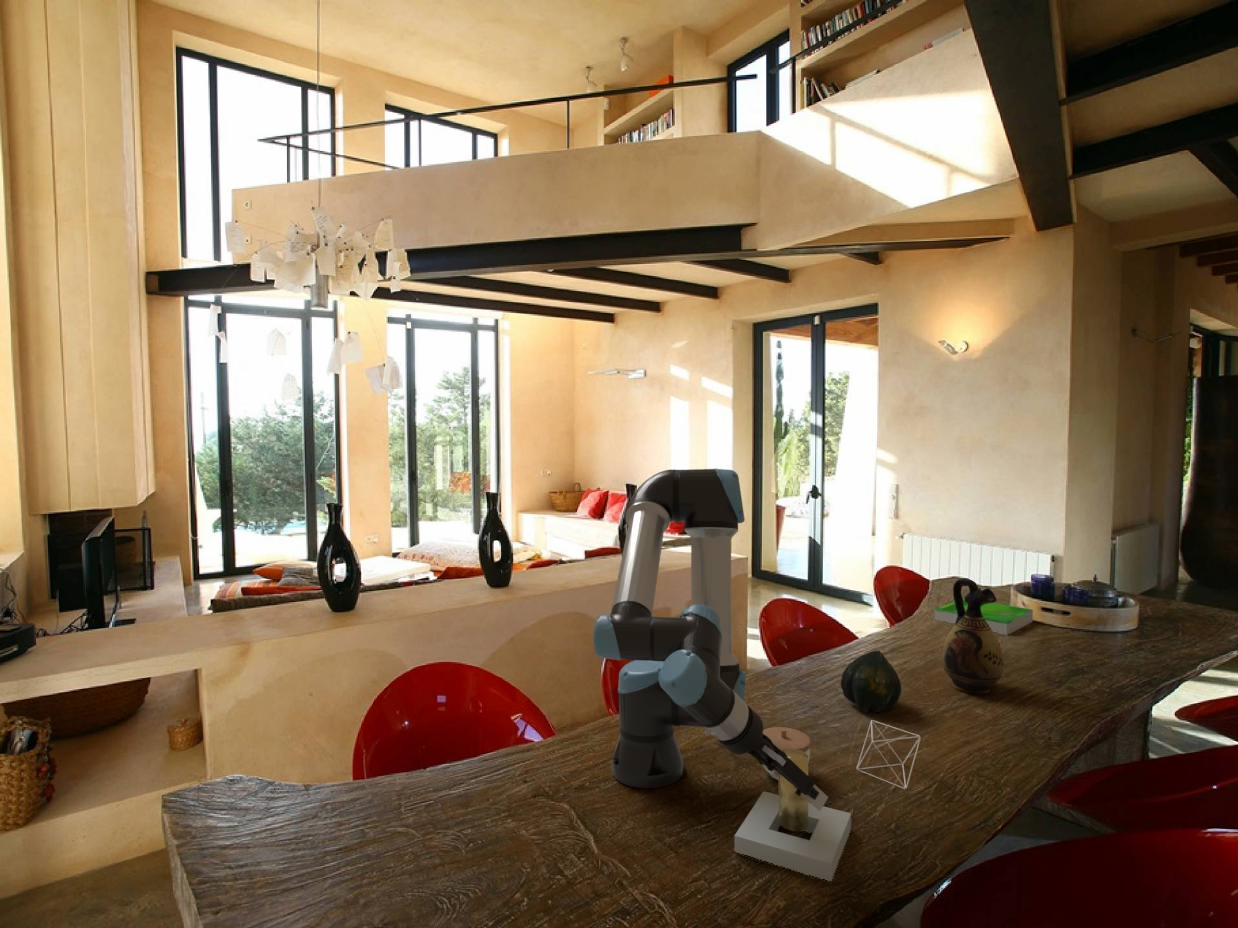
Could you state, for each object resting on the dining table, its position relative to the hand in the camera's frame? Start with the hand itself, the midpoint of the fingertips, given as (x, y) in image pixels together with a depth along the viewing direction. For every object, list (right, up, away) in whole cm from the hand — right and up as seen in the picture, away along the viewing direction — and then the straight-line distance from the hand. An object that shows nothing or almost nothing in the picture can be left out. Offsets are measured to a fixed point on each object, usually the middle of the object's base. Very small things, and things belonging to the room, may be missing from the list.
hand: (810, 794), depth 117 cm
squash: (+32, -5, +56) cm, 64 cm away
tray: (+103, -1, +131) cm, 167 cm away
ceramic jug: (+64, -4, +67) cm, 93 cm away
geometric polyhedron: (+22, -6, +21) cm, 31 cm away
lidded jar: (+1, -7, +22) cm, 23 cm away
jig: (-3, -7, -1) cm, 8 cm away
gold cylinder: (-3, -4, -1) cm, 6 cm away
